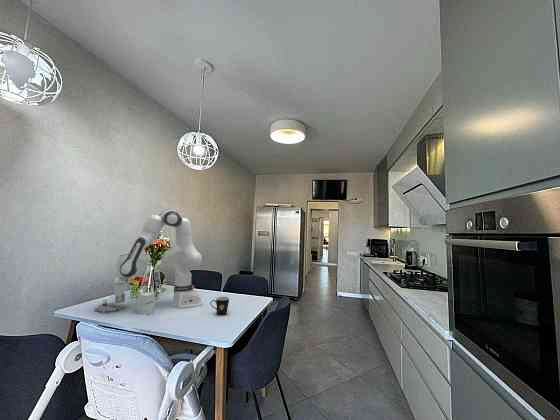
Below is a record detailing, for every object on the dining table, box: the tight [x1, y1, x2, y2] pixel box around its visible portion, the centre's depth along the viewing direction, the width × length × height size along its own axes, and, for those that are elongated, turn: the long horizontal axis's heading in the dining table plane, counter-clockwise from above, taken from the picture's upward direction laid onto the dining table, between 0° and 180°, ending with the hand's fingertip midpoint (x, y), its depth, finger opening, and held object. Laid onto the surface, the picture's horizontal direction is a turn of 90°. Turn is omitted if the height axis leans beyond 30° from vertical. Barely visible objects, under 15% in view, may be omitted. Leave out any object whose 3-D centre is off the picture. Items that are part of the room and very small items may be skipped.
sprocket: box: [94, 299, 127, 314], centre depth 154 cm, size 15×17×5 cm
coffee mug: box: [209, 296, 230, 316], centre depth 159 cm, size 12×9×10 cm
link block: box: [114, 293, 126, 303], centre depth 158 cm, size 5×4×5 cm
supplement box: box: [135, 291, 156, 316], centre depth 152 cm, size 7×7×13 cm
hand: (120, 299), depth 158 cm, fingers closed on link block, 3 cm apart
